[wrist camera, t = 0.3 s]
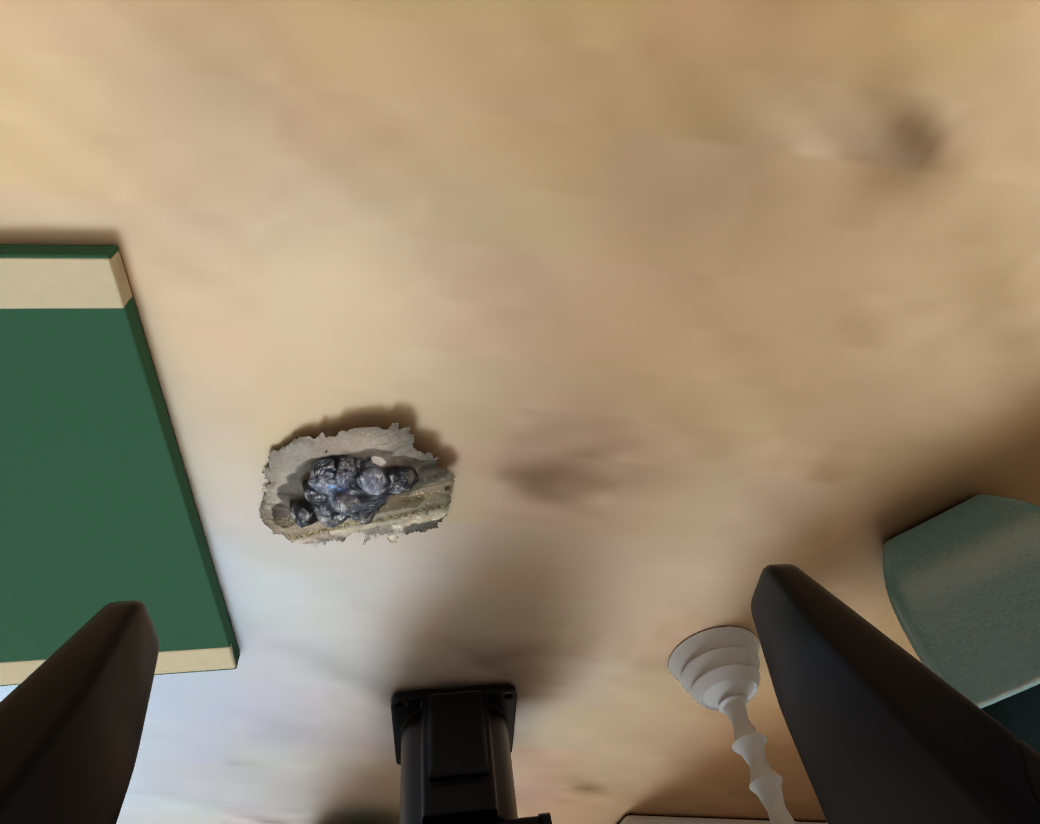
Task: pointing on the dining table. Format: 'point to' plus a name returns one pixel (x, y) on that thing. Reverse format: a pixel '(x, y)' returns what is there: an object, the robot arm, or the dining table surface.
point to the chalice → (732, 700)
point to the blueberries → (353, 487)
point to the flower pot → (975, 604)
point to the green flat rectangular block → (92, 471)
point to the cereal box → (692, 820)
